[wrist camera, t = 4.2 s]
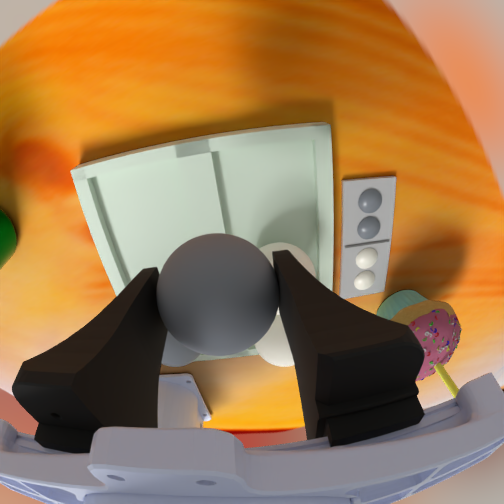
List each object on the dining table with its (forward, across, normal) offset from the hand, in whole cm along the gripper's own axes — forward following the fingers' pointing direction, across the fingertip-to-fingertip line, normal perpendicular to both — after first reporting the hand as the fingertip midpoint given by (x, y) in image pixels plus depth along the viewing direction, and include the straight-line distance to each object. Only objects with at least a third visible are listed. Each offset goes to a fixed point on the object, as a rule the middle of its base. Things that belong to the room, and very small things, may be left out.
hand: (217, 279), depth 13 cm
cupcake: (+9, -14, +13) cm, 21 cm away
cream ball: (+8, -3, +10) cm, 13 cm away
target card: (+9, -10, +5) cm, 14 cm away
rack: (+9, +1, +5) cm, 10 cm away
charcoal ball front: (+1, 0, 0) cm, 1 cm away
